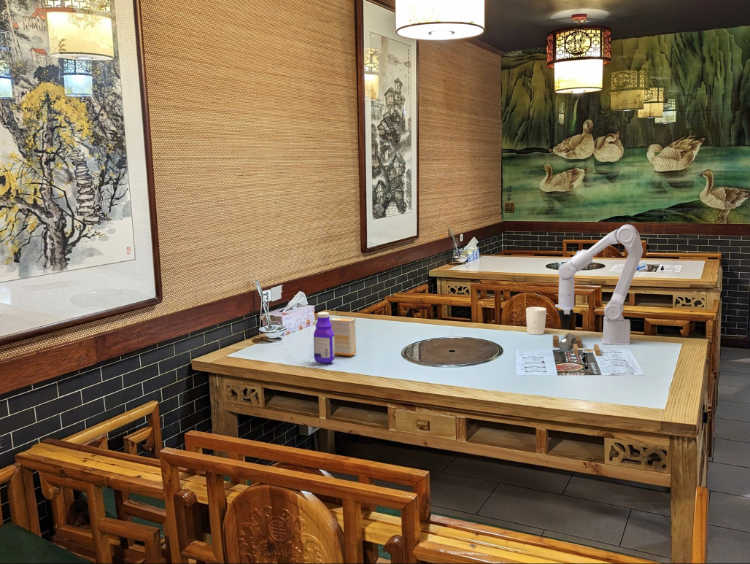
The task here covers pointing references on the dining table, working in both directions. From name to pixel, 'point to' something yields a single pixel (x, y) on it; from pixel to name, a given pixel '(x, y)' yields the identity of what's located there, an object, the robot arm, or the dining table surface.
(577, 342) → the bearing block
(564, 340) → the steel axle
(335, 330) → the supplement box
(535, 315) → the white cup
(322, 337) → the bottle
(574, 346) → the oak cradle
